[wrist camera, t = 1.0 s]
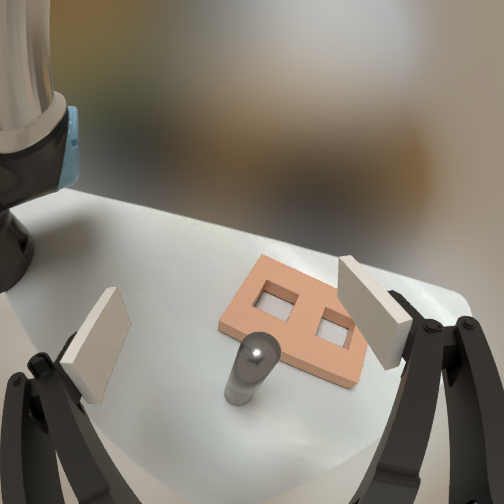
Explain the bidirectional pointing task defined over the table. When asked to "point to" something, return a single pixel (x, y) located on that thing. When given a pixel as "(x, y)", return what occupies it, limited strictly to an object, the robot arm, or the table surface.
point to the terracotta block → (298, 322)
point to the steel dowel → (251, 366)
